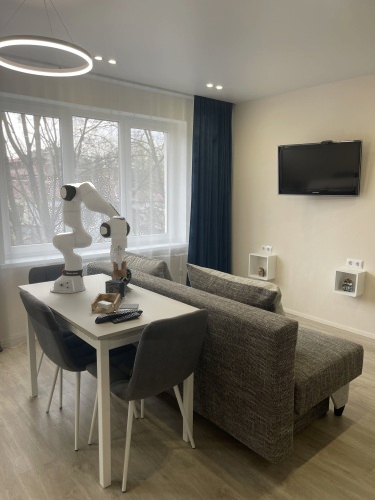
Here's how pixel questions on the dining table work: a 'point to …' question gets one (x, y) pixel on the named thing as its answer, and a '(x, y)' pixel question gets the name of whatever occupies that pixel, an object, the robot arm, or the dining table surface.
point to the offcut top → (105, 304)
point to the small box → (115, 287)
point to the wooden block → (119, 272)
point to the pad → (129, 306)
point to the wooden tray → (107, 298)
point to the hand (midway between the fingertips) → (120, 268)
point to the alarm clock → (124, 279)
